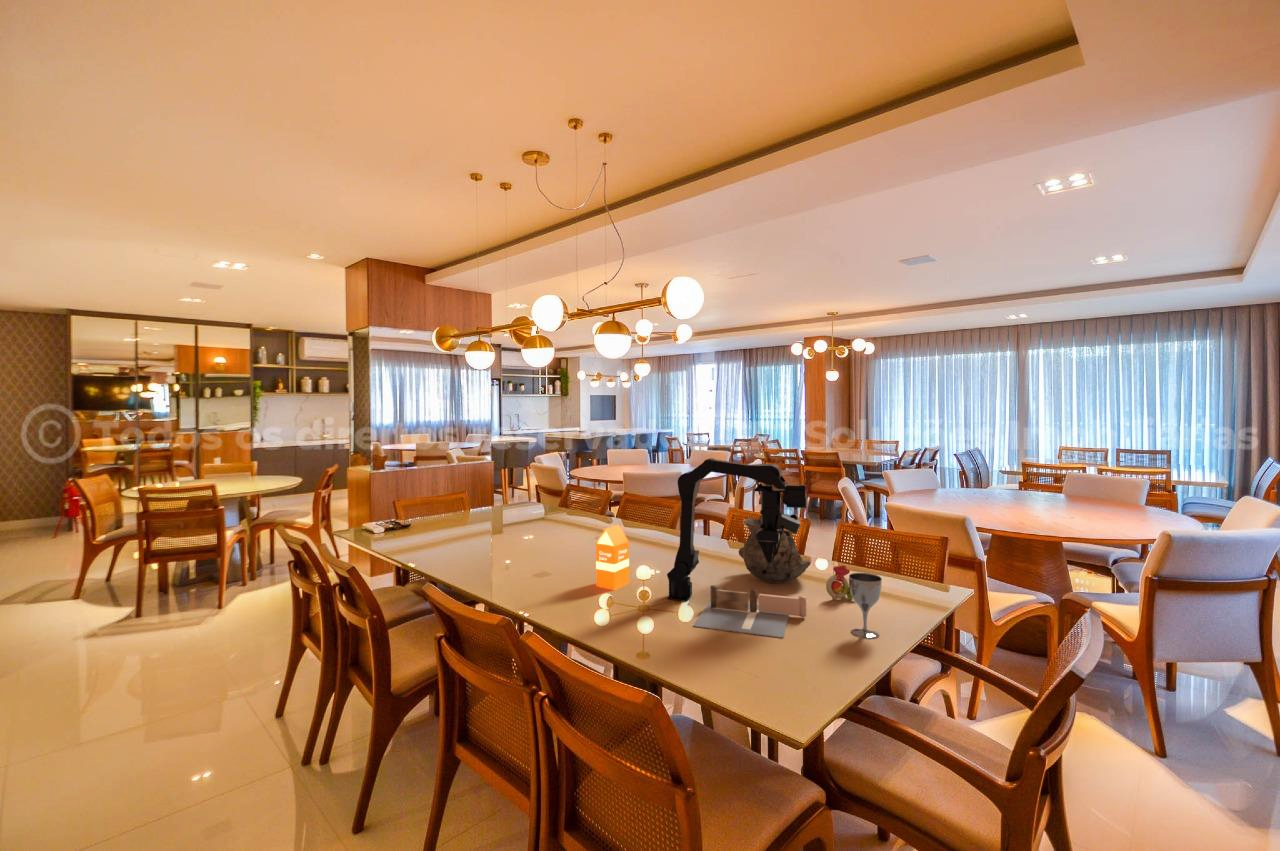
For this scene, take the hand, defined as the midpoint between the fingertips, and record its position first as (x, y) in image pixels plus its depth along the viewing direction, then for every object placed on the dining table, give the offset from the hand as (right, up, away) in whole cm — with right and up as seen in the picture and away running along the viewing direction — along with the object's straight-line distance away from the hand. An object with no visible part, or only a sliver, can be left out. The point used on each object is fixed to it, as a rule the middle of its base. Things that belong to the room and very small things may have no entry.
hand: (771, 558), depth 167 cm
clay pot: (+7, -14, +28) cm, 32 cm away
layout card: (-10, -15, -8) cm, 19 cm away
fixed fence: (-11, -15, -2) cm, 19 cm away
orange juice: (-48, -15, +23) cm, 56 cm away
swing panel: (+2, -14, -7) cm, 16 cm away
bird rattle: (+23, -15, +7) cm, 28 cm away
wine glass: (+20, -15, -20) cm, 32 cm away
